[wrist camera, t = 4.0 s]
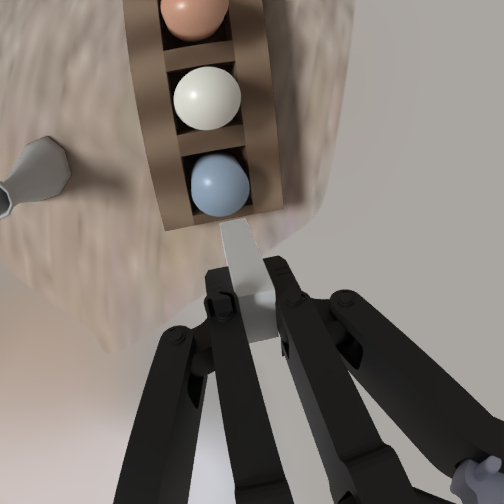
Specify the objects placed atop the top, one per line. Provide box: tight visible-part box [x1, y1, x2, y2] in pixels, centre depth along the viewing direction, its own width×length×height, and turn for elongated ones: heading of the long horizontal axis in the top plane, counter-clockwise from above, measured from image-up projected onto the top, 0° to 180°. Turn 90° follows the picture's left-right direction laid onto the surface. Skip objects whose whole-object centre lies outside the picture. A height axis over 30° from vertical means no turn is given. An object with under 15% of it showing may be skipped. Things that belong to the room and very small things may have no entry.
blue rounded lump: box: [191, 150, 250, 217], centre depth 28 cm, size 5×5×5 cm
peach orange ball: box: [161, 0, 229, 42], centre depth 18 cm, size 5×5×5 cm
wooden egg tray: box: [123, 0, 283, 231], centre depth 25 cm, size 24×12×4 cm, turn 6°
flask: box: [0, 136, 71, 219], centre depth 22 cm, size 7×7×10 cm
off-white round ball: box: [174, 67, 241, 130], centre depth 22 cm, size 5×5×5 cm
